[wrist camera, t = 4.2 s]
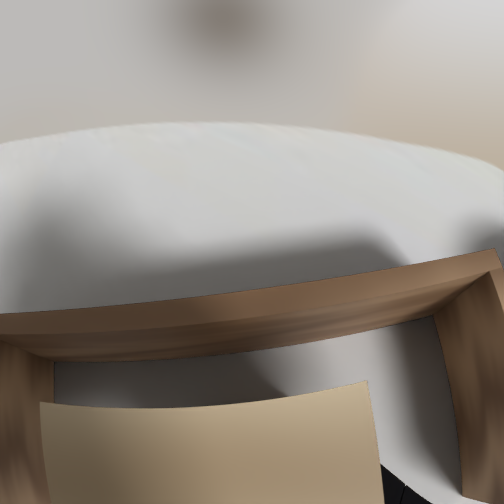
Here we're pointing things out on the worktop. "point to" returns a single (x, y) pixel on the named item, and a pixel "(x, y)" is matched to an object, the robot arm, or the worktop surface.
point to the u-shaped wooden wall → (265, 337)
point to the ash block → (216, 452)
